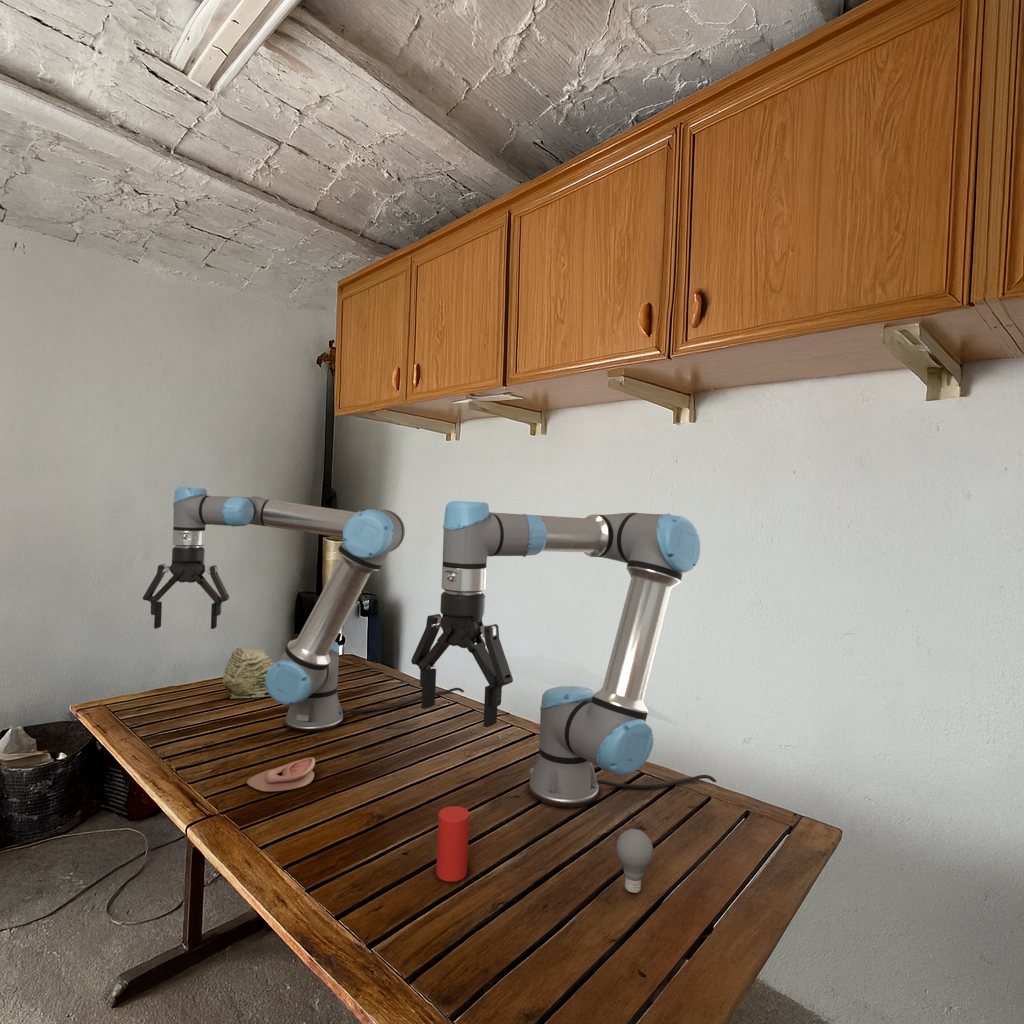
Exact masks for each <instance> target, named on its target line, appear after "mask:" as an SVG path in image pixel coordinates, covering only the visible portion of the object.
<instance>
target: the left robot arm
mask: <svg viewBox="0 0 1024 1024" xmlns="http://www.w3.org/2000/svg"><path fill="white" fill-rule="evenodd" d="M172 504H173V526H172V545H173V546H174V547H172V548H171V563H170V565H167V564H165V563H161V564H159V565H158V566H157V571H156V573H155V575H154V578H153V579H152V580H151V582H150V584H149V586H148V588H147V589H146V591H145V593H144V594H143V596H142V600H143V601H147V602H149V603H150V615H151V616H153V617H154V618H153V619H154V621H153V629H154V630H157V629H160V628H161V627H162V609H163V601H160V599H161V598H162V597H164V595H165V594H166V593H167V592H168V591H169V590H170V589H171V588H172V587H173V586H174V585H175V584H176V583H177V582H179V583H181V584H183V583H188V584H189V583H191V584H192V583H197V584H198V585H199V586H200V587H201V589H202V590H203V591H204V592H205V593H206V594H207V595H208V596H209V597H210V599H211V600H212V601H213V603H211V610H210V611H211V612H210V630H215V629H216V628H217V627H218V616H221V615H222V605H223V603H224V602H227V601H228V600H229V599H230V595H229V593H228V591H227V589H226V586H225V585H224V583H223V581H222V579H221V577H220V575H219V572H218V571H219V570H218V566H217V565H216V564H213V565H209V566H206V565H205V548H204V546H205V545H206V525H208V526H209V525H213V526H225V527H226V526H227V527H229V526H230V527H246V526H248V525H253V526H254V525H255V526H261V527H270V528H276V529H282V530H288V531H296V532H302V533H308V534H315V535H323V536H327V537H335V538H339V539H340V538H341V539H342V541H341V543H340V544H339V547H338V548H337V552H338V555H339V559H338V562H337V563H336V565H335V568H334V569H333V571H332V572H331V574H330V577H329V579H328V580H327V582H326V584H325V586H324V588H323V590H322V591H321V593H320V595H319V597H318V599H317V601H316V603H315V605H314V607H313V609H312V611H311V612H310V614H309V616H308V618H307V620H306V622H305V623H304V625H303V627H302V629H301V631H300V633H299V635H298V636H297V638H295V639H292V640H289V642H288V643H287V644H286V646H285V649H284V650H283V652H282V654H281V655H280V657H279V659H278V661H276V662H274V664H273V665H272V666H271V667H270V668H269V670H268V672H267V674H266V677H265V685H266V688H267V690H268V693H269V695H270V696H269V697H270V698H271V699H273V700H274V701H275V702H276V703H277V704H279V705H282V706H287V707H288V706H289V708H288V711H287V713H286V715H285V726H286V728H287V729H289V730H291V731H294V732H295V731H296V732H301V733H316V732H325V731H329V730H332V729H335V728H337V727H339V726H340V725H342V723H343V722H344V714H343V713H367V712H375V711H376V712H377V711H383V710H387V709H392V708H396V707H397V708H398V707H400V706H403V705H408V704H410V703H414V702H417V701H419V700H422V695H419V696H417V697H413V698H411V699H407V700H404V701H402V702H401V701H400V702H398V703H393V704H388V705H385V706H377V707H370V708H349V709H346V708H345V709H342V706H341V702H340V699H339V695H338V682H339V662H340V661H339V660H340V658H339V657H340V645H339V643H338V642H337V641H336V639H337V638H338V636H339V634H340V632H341V630H342V628H343V626H344V625H345V623H346V621H347V619H348V617H349V615H350V614H351V611H352V610H353V608H354V606H355V604H356V602H357V600H358V598H359V597H360V595H361V593H362V591H363V589H364V588H365V585H366V583H367V581H368V580H369V578H370V576H371V574H373V573H376V572H378V571H380V570H381V569H382V566H383V564H384V562H385V561H386V559H387V557H388V556H389V553H391V552H393V551H395V550H397V549H398V548H399V547H400V546H401V544H402V543H403V541H404V539H405V534H406V527H405V524H404V522H403V520H402V518H401V517H400V516H399V515H398V514H397V513H396V512H394V511H391V510H390V509H389V510H388V509H363V508H362V509H359V510H358V511H352V510H345V509H344V510H343V509H337V508H331V507H323V506H317V505H311V504H303V503H295V502H289V501H283V500H275V499H268V498H264V497H260V496H226V495H225V496H224V495H223V496H220V495H219V496H218V495H217V496H215V495H208V493H207V489H206V488H205V487H189V486H188V487H187V486H179V487H177V488H176V489H174V497H173V503H172ZM168 572H170V573H171V574H172V576H171V578H170V579H168V580H167V582H166V583H165V584H164V585H163V586H162V587H161V588H160V589H159V590H158V591H156V590H157V589H158V587H159V586H160V583H161V581H162V580H163V578H164V576H165V575H166V574H167V573H168ZM205 572H207V574H208V575H210V578H211V580H212V582H213V584H214V586H215V589H216V590H217V591H216V590H215V589H214V588H213V587H212V585H211V584H210V583H209V582H208V581H207V579H206V577H204V573H205ZM155 592H156V594H154V593H155ZM455 691H459V692H460V693H465V690H464V689H462V688H460V687H453V688H450V689H446V690H442V691H435V696H438V695H443V694H448V693H451V692H455Z"/></svg>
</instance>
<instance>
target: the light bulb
mask: <svg viewBox="0 0 1024 1024" xmlns="http://www.w3.org/2000/svg"><path fill="white" fill-rule="evenodd" d="M615 849H616V854H617V857H618V859H619V861H620V863H621V865H622V867H623V873H624V874H623V875H624V876H625V878H624V888H625V890H627V891H628V892H630V893H634V894H635V893H639V892H640V891H641V889H642V887H641V886H642V879H643V877H644V875H645V871H646V868H647V867H648V866H649V864H650V863H651V861H652V859H653V855H654V847H653V843H652V841H651V838H649V836H648V835H647V834H646V833H645V832H643V831H642V830H641V829H636V828H629V829H627V830H625V831H623V832H622V833H621V834H620V835H619V837H618V839H617V841H616V847H615Z"/></svg>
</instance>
